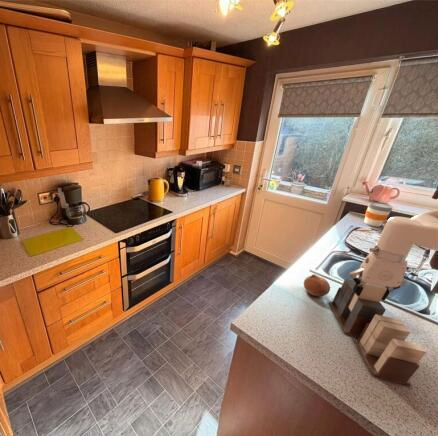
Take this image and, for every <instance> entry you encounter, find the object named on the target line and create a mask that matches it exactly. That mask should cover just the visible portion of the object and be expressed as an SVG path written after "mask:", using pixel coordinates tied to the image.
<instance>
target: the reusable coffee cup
mask: <svg viewBox="0 0 438 436" xmlns="http://www.w3.org/2000/svg"><path fill="white" fill-rule="evenodd" d="M392 211H393V205H391V204H389V203H385V202H380V201H370V202H369V203H368V204H367V209H366V211H365V215H364V216H365V217H364V221H363V223H365V224H366V225H368V226H372V227H381V226H382V224H383V223H384V222H385V221H386V220H387V218H388V217H389V216H390V213H391V212H392Z"/></svg>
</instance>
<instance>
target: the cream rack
mask: <svg viewBox="0 0 438 436" xmlns="http://www.w3.org/2000/svg"><path fill="white" fill-rule="evenodd" d="M410 334H411V331H410V330H409V329H408V327H407V326H406V325H405V323H403V321H402V320H401V319H400V318H397V317H390V316H387V315H382V316H381V315H376V314H375V316H374V317H373V319H372V321H371V323H370V324H369V323H367V324H366V326H365V328H364V330H363V331H362V333H361V335H360V337H357V338H356V337H355V338H353V342H354V344H355V345H356V347H357V349H358V351H359V353H360V354H361V357H362V358H363V360H364V362H365V364H366V366H367V368H368V370H369V371H370V374H371V375H372V377H376V378H380V379H383V380H386V381H391V382H394V383H397V384H401V385H405V386H411V384H412V383H411V382H410V380H411V378H412V377H413V375H414V374H415V373H416V372H417V371H418V369H419V368H420V367H421V365H420V361H421V360H422V359H423V358H424V356H425V355H426V354H427V351H426V350H425V348H424V347H423V345H421V344H419V343H414V342H409V341H406V340H407V338H408V336H409V335H410Z"/></svg>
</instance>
